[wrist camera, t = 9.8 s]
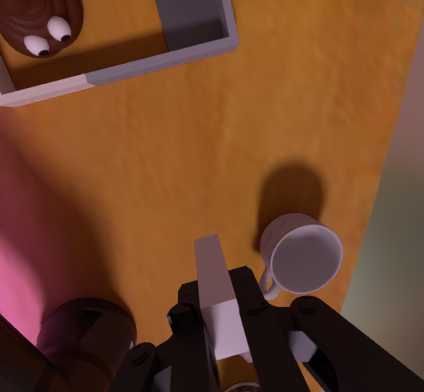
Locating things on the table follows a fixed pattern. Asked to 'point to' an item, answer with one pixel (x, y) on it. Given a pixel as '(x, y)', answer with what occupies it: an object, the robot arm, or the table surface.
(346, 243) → the table surface
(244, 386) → the coffee can
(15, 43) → the poop emoji
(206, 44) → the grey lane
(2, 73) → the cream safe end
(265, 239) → the teacup
